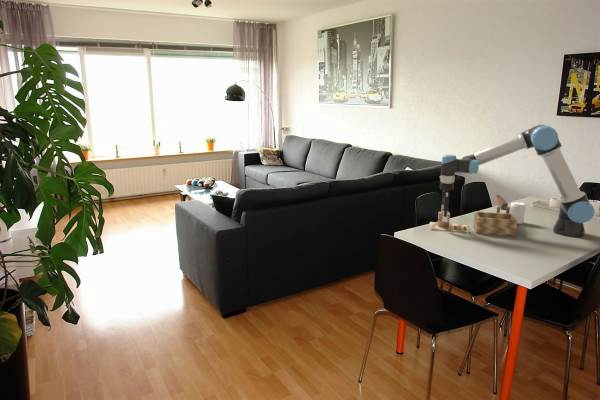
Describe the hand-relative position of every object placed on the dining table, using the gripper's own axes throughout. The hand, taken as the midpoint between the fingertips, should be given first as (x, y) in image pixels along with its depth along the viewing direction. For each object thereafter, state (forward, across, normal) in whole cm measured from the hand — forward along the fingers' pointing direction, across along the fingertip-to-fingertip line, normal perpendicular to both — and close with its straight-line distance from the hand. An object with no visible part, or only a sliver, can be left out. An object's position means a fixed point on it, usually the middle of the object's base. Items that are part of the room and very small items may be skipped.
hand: (444, 218), depth 253 cm
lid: (+6, 0, +3) cm, 6 cm away
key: (-5, -21, +33) cm, 39 cm away
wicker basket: (+5, -3, +27) cm, 28 cm away
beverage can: (+5, -23, +43) cm, 49 cm away
